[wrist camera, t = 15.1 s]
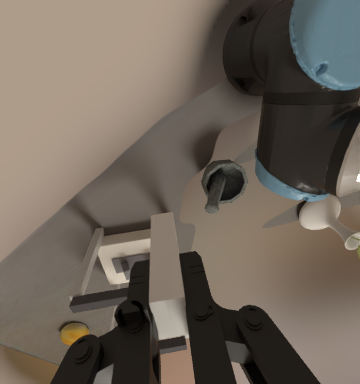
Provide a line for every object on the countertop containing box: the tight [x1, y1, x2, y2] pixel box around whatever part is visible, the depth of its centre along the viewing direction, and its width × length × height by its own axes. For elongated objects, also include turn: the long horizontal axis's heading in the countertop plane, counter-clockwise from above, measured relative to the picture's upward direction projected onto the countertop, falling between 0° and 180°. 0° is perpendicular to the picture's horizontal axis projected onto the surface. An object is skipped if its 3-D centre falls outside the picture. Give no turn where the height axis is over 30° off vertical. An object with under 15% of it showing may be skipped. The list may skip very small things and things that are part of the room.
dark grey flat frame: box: [69, 288, 187, 354], centre depth 41 cm, size 18×20×2 cm
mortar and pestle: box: [201, 160, 248, 214], centre depth 46 cm, size 11×9×12 cm
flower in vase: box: [299, 194, 360, 259], centre depth 49 cm, size 13×11×25 cm
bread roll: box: [60, 323, 89, 345], centre depth 71 cm, size 8×9×4 cm
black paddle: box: [121, 261, 130, 281], centre depth 54 cm, size 2×3×3 cm, turn 6°
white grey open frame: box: [69, 227, 189, 339], centre depth 51 cm, size 20×20×20 cm
